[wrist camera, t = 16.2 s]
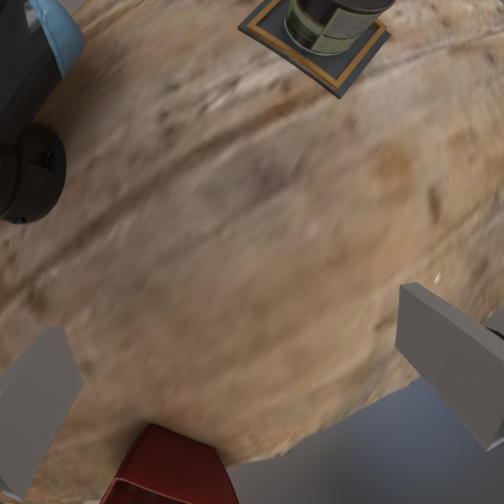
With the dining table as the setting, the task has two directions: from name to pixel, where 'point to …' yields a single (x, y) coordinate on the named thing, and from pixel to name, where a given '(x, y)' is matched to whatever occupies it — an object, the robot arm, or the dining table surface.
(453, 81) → the dining table surface
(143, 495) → the plant pot
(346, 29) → the coffee can
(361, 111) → the dining table surface
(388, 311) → the dining table surface
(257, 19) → the mount plate
